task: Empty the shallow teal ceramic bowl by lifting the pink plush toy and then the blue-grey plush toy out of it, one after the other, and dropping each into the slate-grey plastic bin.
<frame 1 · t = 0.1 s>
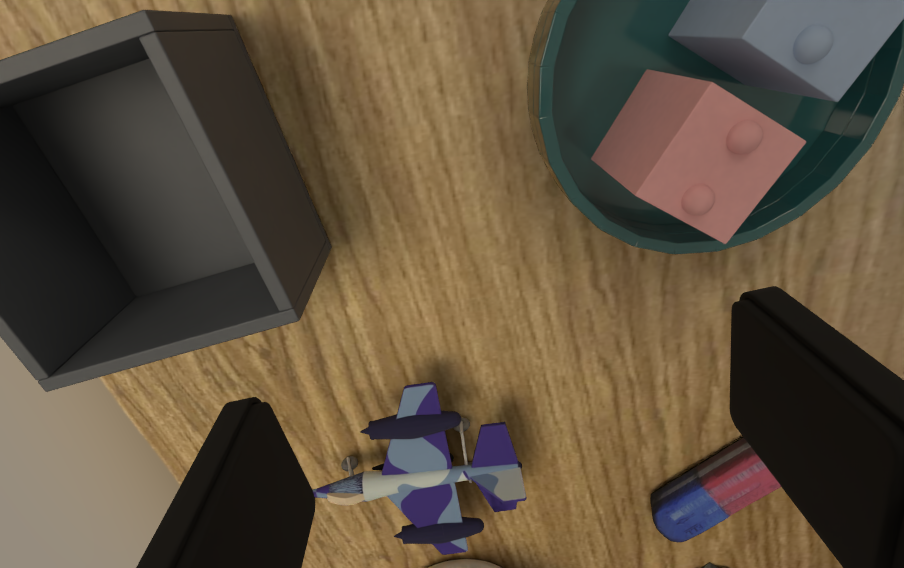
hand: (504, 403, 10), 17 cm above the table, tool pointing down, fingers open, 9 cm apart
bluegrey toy: (740, 10, 22), resting on bowl
toy airplane: (411, 446, 33), on the table
bin: (179, 176, 25), on the table
pink toy: (656, 137, 24), resting on bowl
bowl: (691, 76, 24), on the table
eraser: (719, 469, 35), on the table
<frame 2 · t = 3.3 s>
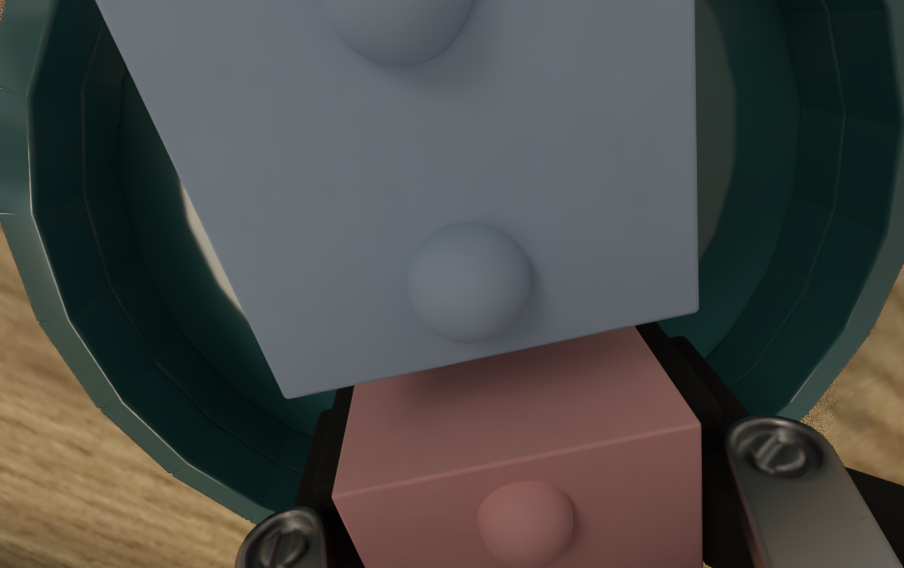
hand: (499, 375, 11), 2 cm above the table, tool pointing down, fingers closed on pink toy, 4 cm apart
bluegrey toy: (432, 82, 10), resting on bowl
pink toy: (492, 341, 12), point 1 cm above the table, touching bowl, gripper
bowl: (464, 219, 12), on the table
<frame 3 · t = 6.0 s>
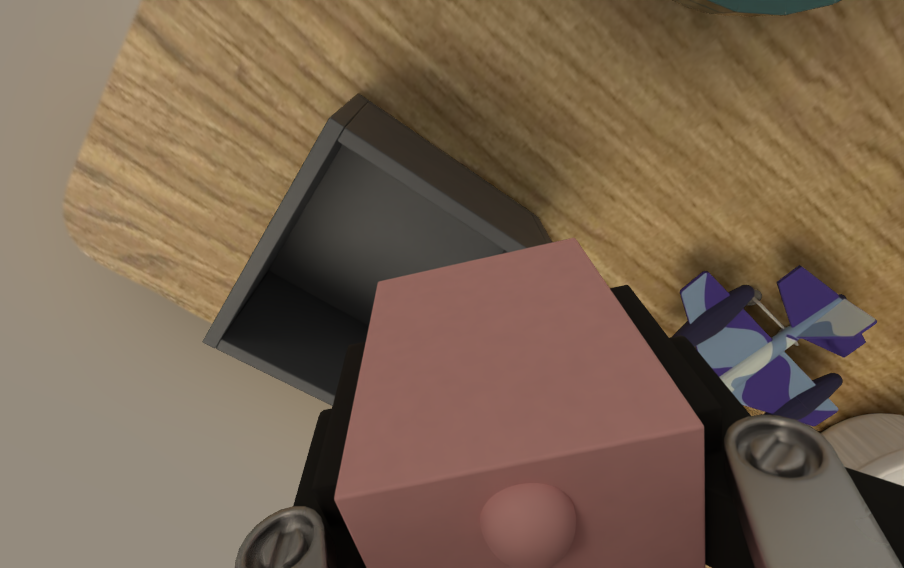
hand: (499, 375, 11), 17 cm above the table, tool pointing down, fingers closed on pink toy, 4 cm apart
toy airplane: (713, 346, 32), on the table
bin: (395, 243, 28), on the table
ramekin: (852, 458, 37), on the table
pink toy: (493, 341, 12), point 16 cm above the table, touching gripper
when the fingers open (6 cm above the table, at t = 9.0 s): pink toy drops 4 cm, resting on bin.
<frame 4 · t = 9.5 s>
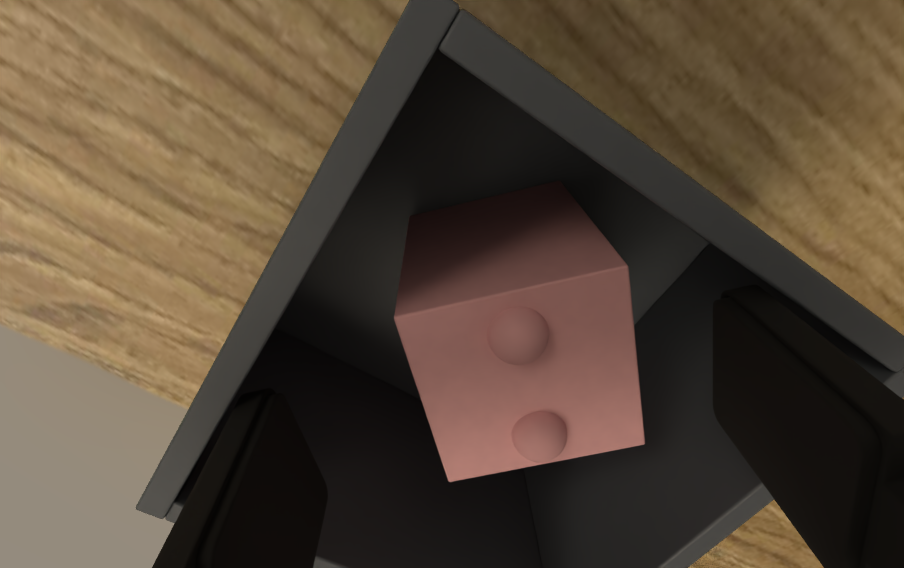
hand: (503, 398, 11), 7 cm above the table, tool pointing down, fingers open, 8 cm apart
bin: (485, 276, 17), on the table
pink toy: (498, 266, 16), resting on bin
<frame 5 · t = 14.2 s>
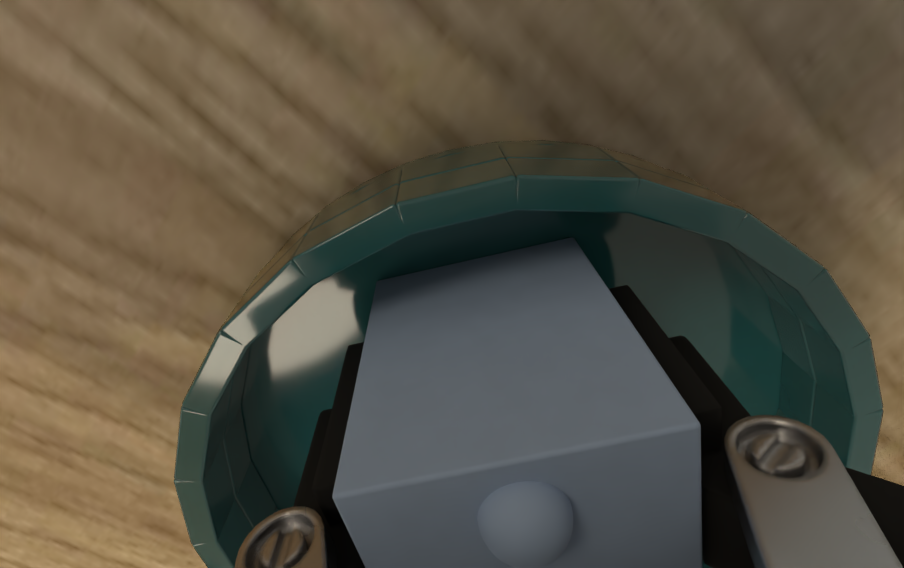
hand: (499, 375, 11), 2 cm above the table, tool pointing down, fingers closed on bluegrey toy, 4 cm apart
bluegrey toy: (492, 341, 12), point 1 cm above the table, touching bowl, gripper
bowl: (510, 420, 14), on the table
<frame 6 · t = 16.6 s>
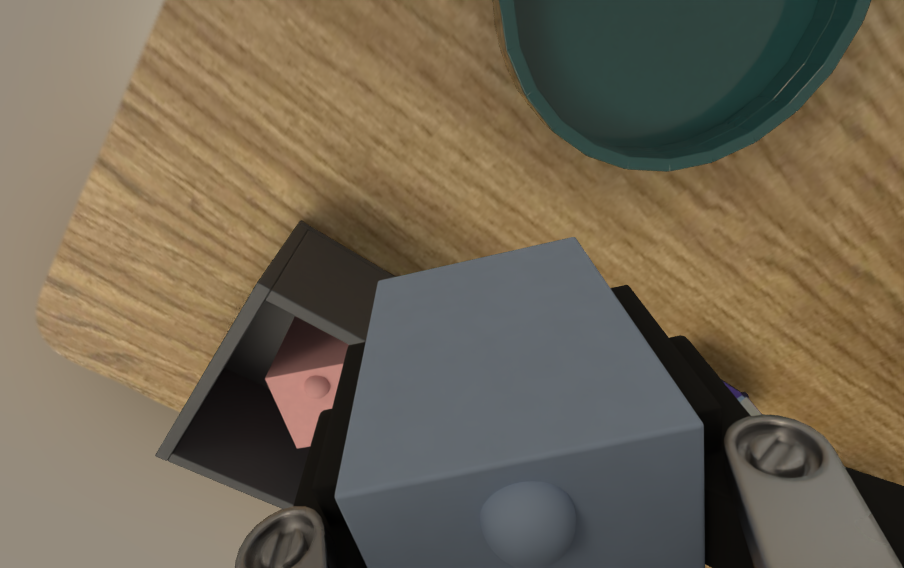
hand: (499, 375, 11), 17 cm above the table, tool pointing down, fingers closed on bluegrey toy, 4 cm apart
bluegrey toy: (493, 340, 12), point 16 cm above the table, touching gripper
toy airplane: (639, 426, 35), on the table
bin: (340, 343, 31), on the table
pink toy: (344, 339, 30), resting on bin
when the fingers open (8 cm above the table, at t = 19.2 s): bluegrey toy stays where it is, resting on pink toy.
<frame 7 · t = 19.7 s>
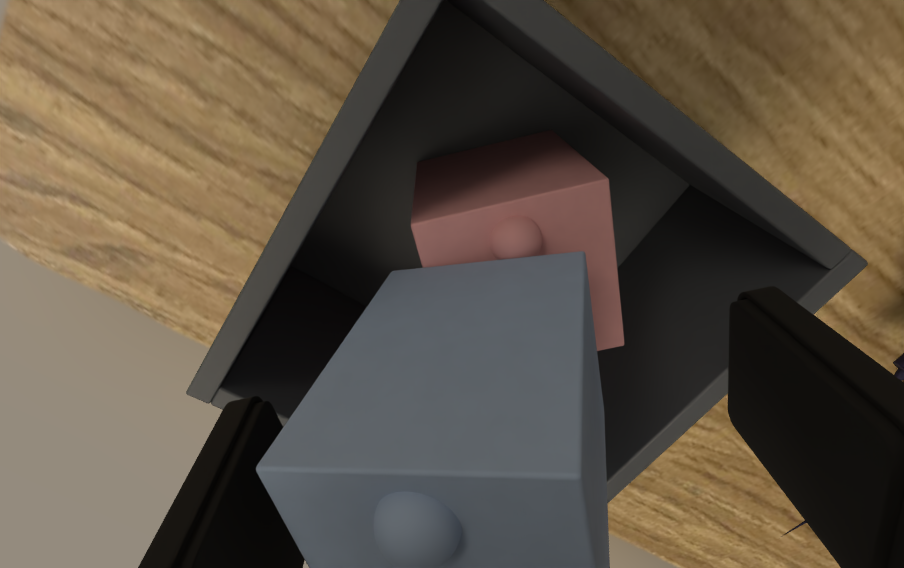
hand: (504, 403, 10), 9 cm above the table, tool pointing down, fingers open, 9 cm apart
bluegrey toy: (500, 342, 13), point 7 cm above the table, tilted 15°, touching pink toy
bin: (484, 221, 18), on the table
pink toy: (496, 210, 18), resting on bin, touching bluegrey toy
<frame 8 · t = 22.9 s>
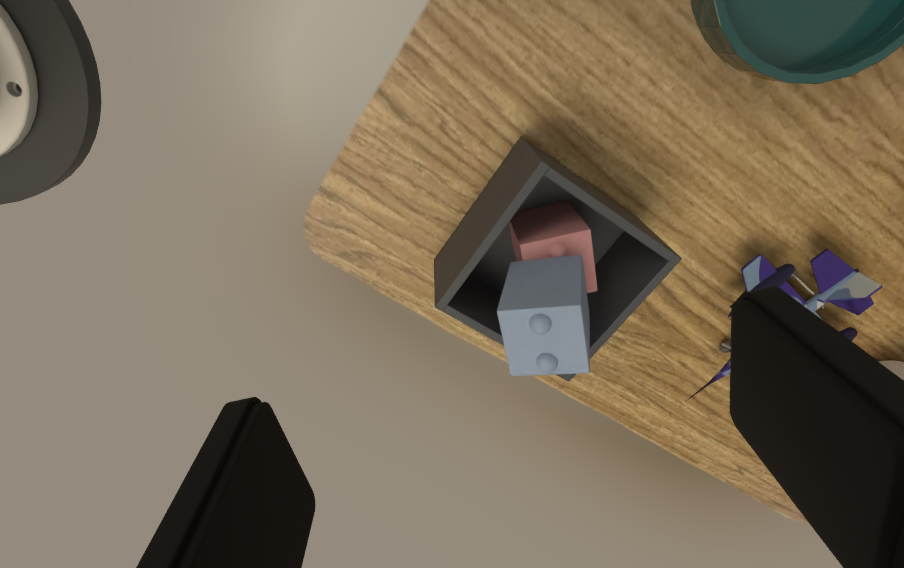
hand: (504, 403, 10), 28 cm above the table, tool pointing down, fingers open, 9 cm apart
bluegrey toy: (550, 288, 34), point 7 cm above the table, tilted 15°, touching pink toy
toy airplane: (760, 311, 43), on the table
bin: (535, 239, 39), on the table
pink toy: (541, 235, 39), resting on bin, touching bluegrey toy
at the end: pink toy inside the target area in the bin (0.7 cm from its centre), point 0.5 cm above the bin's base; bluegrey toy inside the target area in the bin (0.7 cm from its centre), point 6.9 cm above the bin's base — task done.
